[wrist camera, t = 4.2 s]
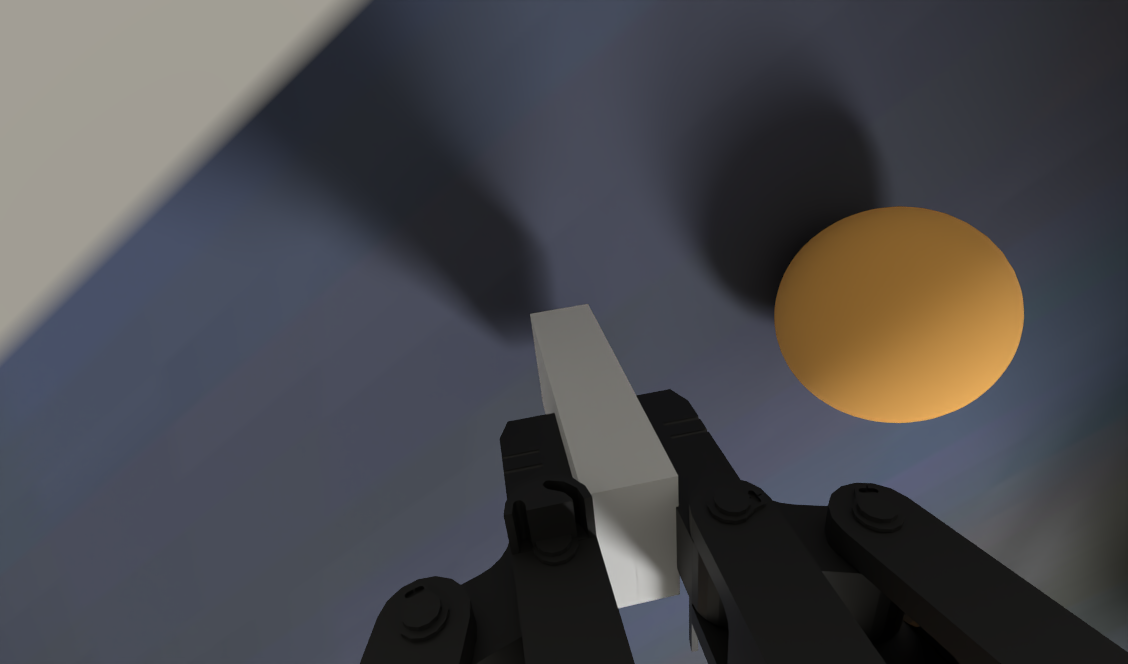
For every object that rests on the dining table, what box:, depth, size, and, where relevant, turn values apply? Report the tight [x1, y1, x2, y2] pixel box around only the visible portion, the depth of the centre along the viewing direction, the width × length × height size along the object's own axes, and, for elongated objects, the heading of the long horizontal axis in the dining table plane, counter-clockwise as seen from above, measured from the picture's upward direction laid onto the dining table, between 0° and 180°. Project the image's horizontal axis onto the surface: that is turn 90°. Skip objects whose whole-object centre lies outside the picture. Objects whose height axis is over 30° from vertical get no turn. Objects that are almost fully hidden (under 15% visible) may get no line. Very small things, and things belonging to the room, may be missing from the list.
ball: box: [774, 206, 1024, 423], centre depth 15 cm, size 6×6×6 cm
